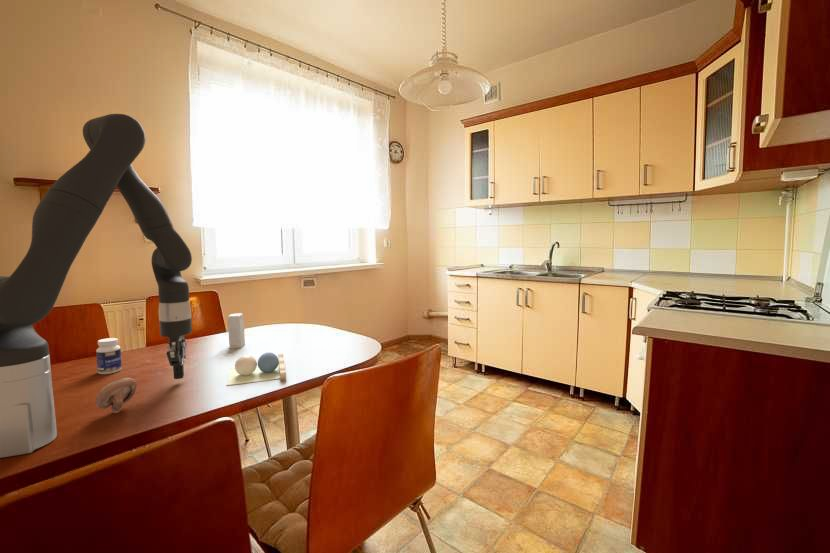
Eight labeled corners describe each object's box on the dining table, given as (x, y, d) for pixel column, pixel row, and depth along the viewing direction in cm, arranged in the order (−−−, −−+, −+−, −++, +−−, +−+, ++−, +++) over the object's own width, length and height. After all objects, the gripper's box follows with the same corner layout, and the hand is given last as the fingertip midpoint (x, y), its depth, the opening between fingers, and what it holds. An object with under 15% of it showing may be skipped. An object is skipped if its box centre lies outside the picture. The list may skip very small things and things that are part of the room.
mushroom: (96, 422, 81) (93, 387, 80) (97, 412, 86) (94, 379, 85) (139, 411, 86) (137, 378, 85) (137, 402, 90) (135, 371, 90)
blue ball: (283, 362, 111) (266, 352, 108) (270, 379, 110) (252, 368, 107) (282, 356, 116) (266, 346, 114) (269, 372, 115) (253, 362, 113)
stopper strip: (285, 380, 105) (285, 372, 105) (280, 381, 105) (280, 372, 105) (283, 361, 122) (283, 353, 122) (278, 361, 121) (278, 354, 121)
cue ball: (260, 373, 108) (253, 355, 107) (238, 381, 106) (231, 363, 105) (259, 367, 114) (252, 349, 112) (239, 375, 111) (232, 357, 110)
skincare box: (241, 347, 137) (240, 316, 135) (228, 348, 136) (227, 316, 134) (245, 343, 143) (244, 312, 141) (232, 343, 142) (231, 313, 140)
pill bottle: (108, 375, 108) (105, 342, 107) (92, 374, 109) (89, 341, 108) (126, 368, 114) (124, 337, 113) (112, 367, 115) (109, 336, 114)
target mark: (280, 378, 107) (280, 378, 107) (226, 385, 101) (226, 385, 101) (278, 363, 120) (278, 363, 120) (230, 369, 114) (230, 368, 114)
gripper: (186, 321, 97) (190, 384, 98) (195, 312, 109) (198, 368, 110) (152, 323, 94) (156, 388, 95) (165, 313, 106) (169, 371, 108)
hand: (179, 377), depth 103 cm, fingers closed
